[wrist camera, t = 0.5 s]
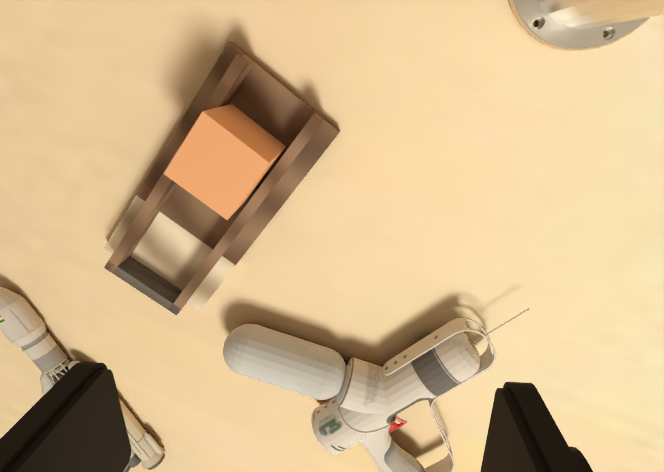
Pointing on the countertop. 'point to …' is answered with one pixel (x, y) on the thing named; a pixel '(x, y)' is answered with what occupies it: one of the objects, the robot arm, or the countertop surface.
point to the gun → (362, 384)
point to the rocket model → (64, 369)
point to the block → (224, 159)
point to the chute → (196, 217)
